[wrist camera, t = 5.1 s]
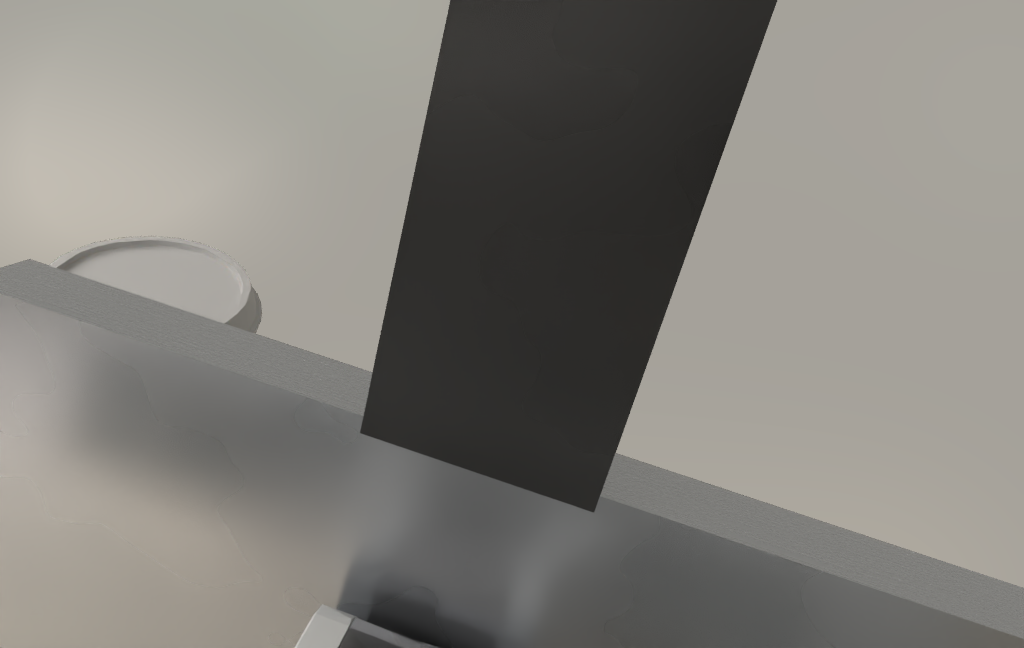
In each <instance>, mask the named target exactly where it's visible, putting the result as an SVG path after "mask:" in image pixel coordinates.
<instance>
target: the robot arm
mask: <svg viewBox="0 0 1024 648" xmlns="http://www.w3.org/2000/svg"><path fill="white" fill-rule="evenodd" d="M295 648H439V647H436V646H433V645H430V644H428V643H425V642H421V641H418V640H416V639H413V638H410V637H408V636H405V635H402V634H400V633H397V632H394V631H392V630H389V629H386V628H383V627H381V626H378V625H375V624H373V623H370V622H367V621H365V620H362V619H359V618H358V617H356V616H354V615H351V614H348V613H345V612H343V611H340V610H337V609H334V608H331V607H329V606H326V605H323V604H322V606H321V607H320V608H319V609H318V610H317V611H316V612H315V614H314V615H313V616H312V618H311V620H310V621H309V623H308V625H307V627H306V628H305V630H304V632H303V634H302V635H301V637H300V639H299V641H298V642H297V644H296V646H295Z"/></svg>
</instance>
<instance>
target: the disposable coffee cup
mask: <svg viewBox="0 0 1024 648" xmlns="http://www.w3.org/2000/svg"><path fill="white" fill-rule="evenodd" d="M49 266H52V267H55V268H58V269H61V270H64V271H67V272H70V273H73V274H76V275H79V276H82V277H85V278H88V279H91V280H94V281H97V282H100V283H104V284H107V285H110V286H113V287H116V288H119V289H122V290H125V291H128V292H131V293H134V294H137V295H140V296H143V297H146V298H149V299H152V300H155V301H158V302H161V303H164V304H167V305H170V306H173V307H176V308H179V309H182V310H185V311H188V312H191V313H194V314H197V315H200V316H203V317H206V318H209V319H212V320H215V321H218V322H221V323H224V324H227V325H230V326H233V327H236V328H239V329H242V330H245V331H249V332H252V333H256V331H257V329H258V326H259V324H260V322H261V316H262V310H261V302H260V299H259V297H258V294H257V293H256V291H255V290H254V289H253V288H252V286H251V282H250V279H249V276H248V274H247V273H246V270H245V269H244V268H243V267H242V266H241V265H240V264H239V263H238V262H237V261H236V260H235V259H233V258H232V257H230V256H229V255H227V254H226V253H224V252H222V251H220V250H218V249H216V248H213V247H210V246H207V245H205V244H202V243H198V242H194V241H189V240H185V239H180V238H170V237H158V236H143V237H141V236H140V237H122V238H117V239H111V240H105V241H100V242H94V243H91V244H89V245H86V246H83V247H80V248H77V249H74V250H72V251H70V252H68V253H66V254H64V255H62V256H60V257H58V258H57V259H56V260H55V261H53V262H52V263H51V264H50V265H49Z"/></svg>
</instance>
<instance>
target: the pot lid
mask: <svg viewBox="0 0 1024 648" xmlns="http://www.w3.org/2000/svg"><path fill="white" fill-rule="evenodd" d="M776 2H777V0H450V5H449V10H448V15H447V20H446V24H445V30H444V34H443V39H442V44H441V49H440V53H439V58H438V63H437V67H436V72H435V77H434V82H433V87H432V91H431V96H430V101H429V106H428V110H427V115H426V120H425V125H424V130H423V134H422V139H421V144H420V148H419V154H418V158H417V163H416V168H415V172H414V177H413V182H412V187H411V191H410V196H409V201H408V206H407V211H406V215H405V220H404V225H403V230H402V234H401V239H400V244H399V249H398V254H397V258H396V263H395V268H394V273H393V277H392V282H391V287H390V292H389V297H388V301H387V306H386V311H385V316H384V320H383V325H382V330H381V335H380V340H379V344H378V350H377V354H376V359H375V363H374V368H373V373H372V372H369V371H366V370H363V369H360V368H357V367H354V366H351V365H348V364H345V363H342V362H339V361H336V360H333V359H330V358H327V357H324V356H321V355H318V354H315V353H312V352H309V351H306V350H303V349H300V348H297V347H294V346H290V345H288V344H285V343H282V342H279V341H276V340H273V339H269V338H266V337H263V336H260V335H257V334H255V333H252V332H249V331H245V330H242V329H239V328H236V327H233V326H230V325H227V324H224V323H221V322H218V321H215V320H212V319H209V318H206V317H203V316H200V315H197V314H194V313H191V312H188V311H185V310H182V309H179V308H176V307H173V306H170V305H167V304H164V303H161V302H158V301H155V300H152V299H149V298H146V297H143V296H140V295H137V294H134V293H131V292H128V291H125V290H122V289H119V288H116V287H113V286H110V285H107V284H104V283H100V282H97V281H94V280H91V279H88V278H85V277H82V276H79V275H76V274H73V273H70V272H67V271H64V270H61V269H58V268H55V267H52V266H49V265H46V264H43V263H40V262H37V261H34V260H31V259H29V260H25V261H22V262H19V263H15V264H12V265H9V266H5V267H2V268H0V648H295V646H296V644H297V642H298V641H299V639H300V637H301V635H302V634H303V632H304V630H305V628H306V627H307V625H308V623H309V621H310V620H311V618H312V616H313V615H314V614H315V612H316V611H317V610H318V609H319V608H320V607H321V606H322V604H323V605H326V606H329V607H331V608H334V609H337V610H340V611H343V612H345V613H348V614H351V615H354V616H356V617H358V618H359V619H362V620H365V621H367V622H370V623H373V624H375V625H378V626H381V627H383V628H386V629H389V630H392V631H394V632H397V633H400V634H402V635H405V636H408V637H410V638H413V639H416V640H418V641H421V642H425V643H428V644H430V645H433V646H436V647H439V648H1024V588H1021V587H1018V586H1016V585H1013V584H1010V583H1007V582H1004V581H1001V580H998V579H995V578H991V577H988V576H985V575H983V574H979V573H976V572H973V571H970V570H967V569H964V568H961V567H958V566H955V565H952V564H949V563H946V562H943V561H940V560H937V559H934V558H931V557H928V556H925V555H922V554H919V553H916V552H913V551H910V550H907V549H904V548H901V547H898V546H894V545H892V544H889V543H886V542H883V541H880V540H877V539H874V538H871V537H868V536H865V535H862V534H858V533H856V532H853V531H850V530H847V529H844V528H840V527H837V526H835V525H831V524H828V523H825V522H822V521H819V520H816V519H813V518H810V517H807V516H804V515H801V514H798V513H795V512H792V511H789V510H786V509H783V508H780V507H777V506H774V505H771V504H768V503H765V502H762V501H759V500H756V499H753V498H750V497H747V496H744V495H741V494H738V493H735V492H732V491H729V490H726V489H722V488H720V487H717V486H714V485H711V484H708V483H704V482H702V481H699V480H696V479H693V478H690V477H686V476H683V475H680V474H677V473H674V472H671V471H668V470H665V469H662V468H659V467H656V466H653V465H650V464H647V463H644V462H641V461H638V460H635V459H632V458H629V457H626V456H623V455H620V454H617V453H616V450H617V447H618V444H619V442H620V439H621V436H622V433H623V430H624V427H625V425H626V422H627V419H628V416H629V414H630V410H631V408H632V405H633V402H634V399H635V397H636V394H637V391H638V388H639V386H640V383H641V380H642V377H643V374H644V371H645V369H646V366H647V363H648V360H649V358H650V355H651V352H652V349H653V346H654V344H655V341H656V338H657V335H658V332H659V329H660V327H661V324H662V321H663V318H664V316H665V313H666V310H667V307H668V304H669V301H670V298H671V296H672V293H673V290H674V287H675V284H676V282H677V279H678V276H679V273H680V271H681V268H682V265H683V262H684V260H685V257H686V254H687V251H688V249H689V246H690V243H691V240H692V237H693V235H694V232H695V229H696V226H697V223H698V221H699V218H700V215H701V212H702V209H703V207H704V204H705V201H706V198H707V195H708V193H709V190H710V187H711V184H712V181H713V179H714V176H715V173H716V170H717V167H718V165H719V162H720V159H721V156H722V153H723V151H724V148H725V145H726V142H727V139H728V136H729V134H730V131H731V128H732V125H733V123H734V120H735V117H736V114H737V111H738V108H739V106H740V103H741V100H742V97H743V95H744V92H745V89H746V86H747V83H748V81H749V78H750V75H751V72H752V69H753V66H754V64H755V61H756V58H757V55H758V53H759V50H760V47H761V44H762V41H763V39H764V36H765V33H766V30H767V27H768V25H769V22H770V19H771V16H772V13H773V11H774V8H775V5H776Z"/></svg>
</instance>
